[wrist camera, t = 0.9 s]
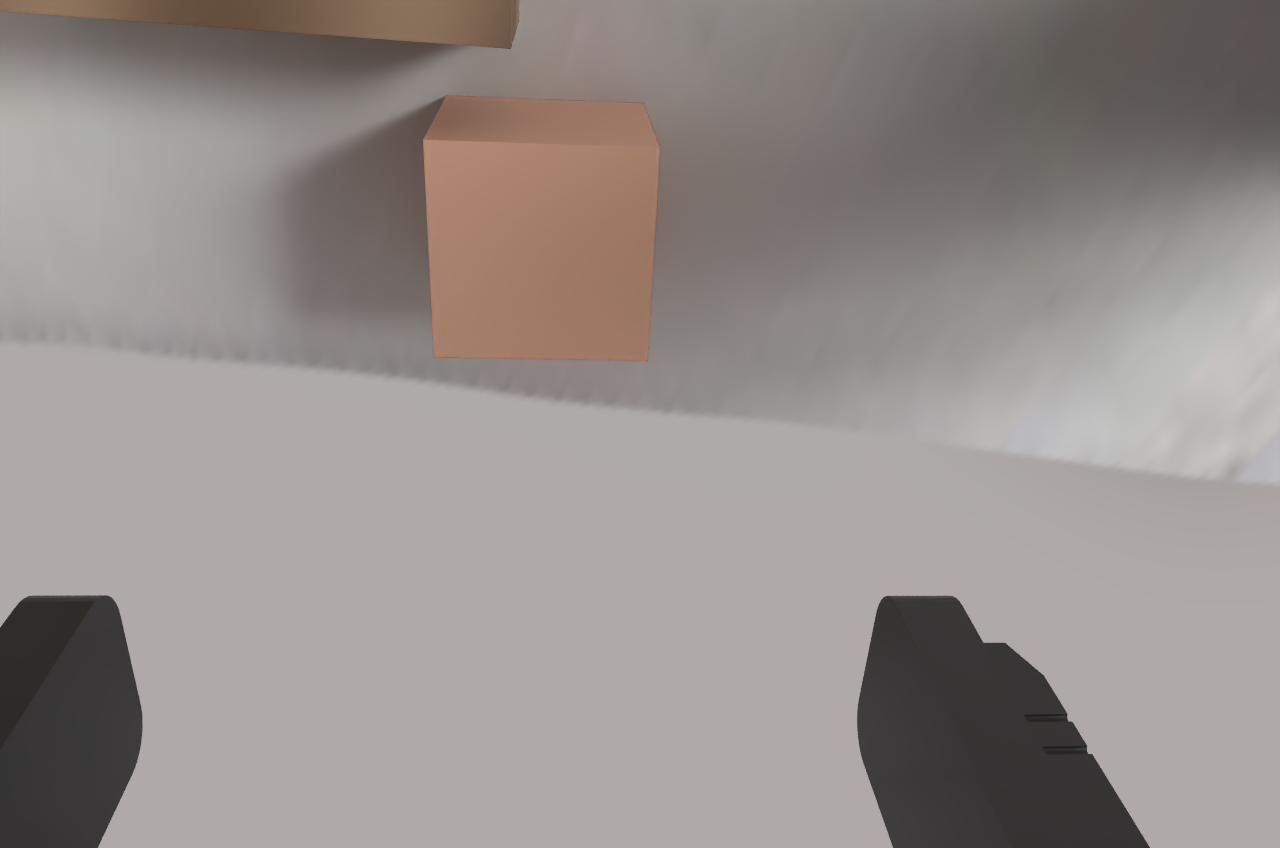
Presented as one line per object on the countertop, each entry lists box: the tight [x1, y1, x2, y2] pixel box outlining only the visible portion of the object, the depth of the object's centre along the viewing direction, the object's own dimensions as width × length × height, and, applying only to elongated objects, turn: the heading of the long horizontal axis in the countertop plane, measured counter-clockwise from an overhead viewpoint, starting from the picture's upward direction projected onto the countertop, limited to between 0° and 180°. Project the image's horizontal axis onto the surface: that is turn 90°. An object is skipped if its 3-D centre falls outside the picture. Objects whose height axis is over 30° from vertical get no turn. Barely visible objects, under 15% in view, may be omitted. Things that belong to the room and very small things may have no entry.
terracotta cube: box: [423, 95, 660, 361], centre depth 25 cm, size 5×5×5 cm
